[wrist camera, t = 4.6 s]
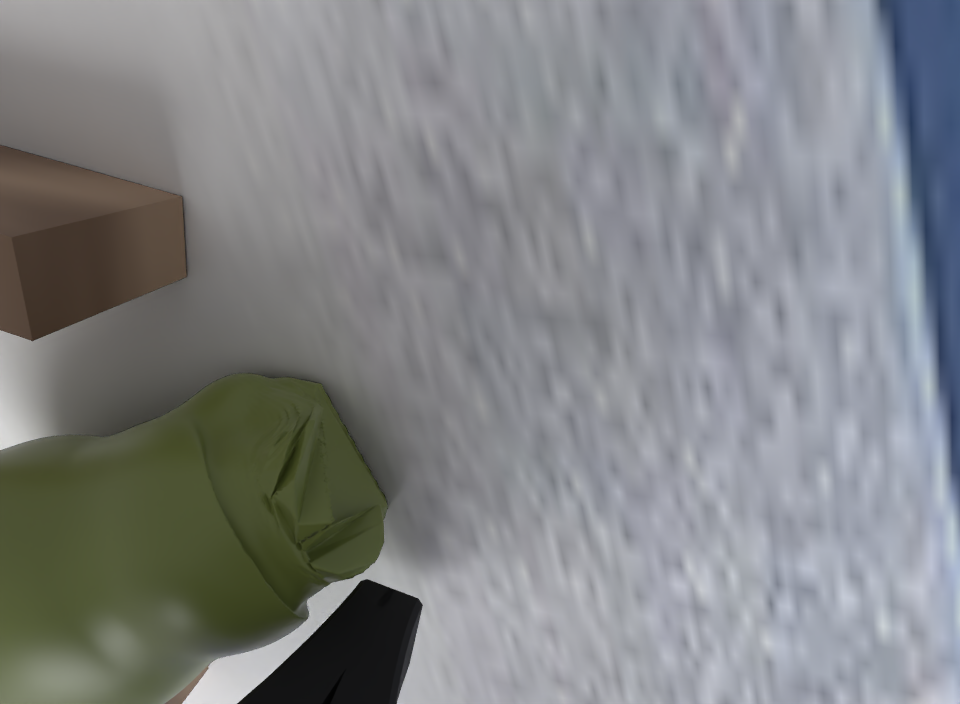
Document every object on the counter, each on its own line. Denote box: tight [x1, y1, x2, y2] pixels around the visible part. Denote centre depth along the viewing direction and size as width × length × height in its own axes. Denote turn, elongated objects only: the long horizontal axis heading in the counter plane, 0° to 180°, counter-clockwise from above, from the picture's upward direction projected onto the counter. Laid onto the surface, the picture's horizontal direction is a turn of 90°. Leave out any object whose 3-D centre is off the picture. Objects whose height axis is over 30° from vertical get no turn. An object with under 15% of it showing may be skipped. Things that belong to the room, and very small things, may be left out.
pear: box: [0, 373, 388, 704], centre depth 11 cm, size 6×5×10 cm
